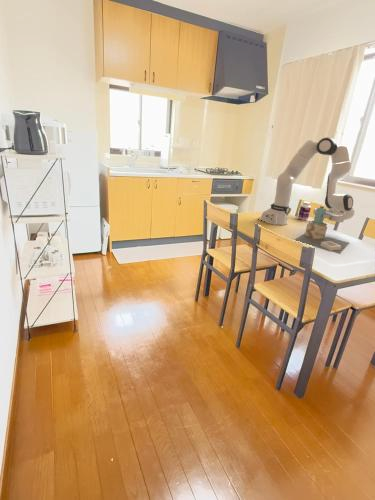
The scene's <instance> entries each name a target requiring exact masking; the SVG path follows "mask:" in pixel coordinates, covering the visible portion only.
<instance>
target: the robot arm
mask: <svg viewBox="0 0 375 500" xmlns="http://www.w3.org/2000/svg"><path fill="white" fill-rule="evenodd" d="M317 154H320V155H323V156H330V158H331V170H330V172H329V173H328V175H327V181H326V184H327V185H326V193H325V198H324V205H325V208H326V212H325V215H322V218H324V219H328V221H332V222H337V223H344V221H347V220H348V221H349V220H350V219H352V218H353V217H354V215H355V209H354V207H353V205H354V198H353V197H352V195H351V194H348V193H342V194H336V189H337V188H336V187H337V183H338V180H339V179H341V178H342V177H345V176H346V175H347V174H348V173H349V172H350V171H351V169H352V162H351V152H350V149H349V146H348V145H344V144H343V145H342V144H340V145H338V144H337V142H336V141H335V139H334V138H332V137H323V138H321V139H319V140H318V141H314V140H311V139H309V140H307V141H305V142H304V143H303V144H302V145H301V147H300V148H299V149H298V151H297V152H296V153H295V155H294V156H293V157H292V159H291V160H290V161H289V163H288V165H287V166H286V168H285V169H284V171H283V172H282V173H280V174H279V175H278V177H277V179H276V180H277V181H276V187H275V197H274V201H273V203H271V204H270V207H269V208H267V210H266V209H265V210H264V211H263V212H262V214H261V216H258V218H257V220H258V219H259V220H258V221H261V220H262V222H264V221H265V222H264V223H268V224H270V225H273V226H274V225H275V226H277V225H278V226H285V225H288V219H287V218H288V217H287V216H288V215H287V213H288V210H289V208H290V203H291V197H292V190H293V189H292V188H293V185H294V184H295V182H296V180H297V179H298V178H299V177H300V175H301V173H303V171H304V169H305V168H307V166H308V164H309V163H310V162H311V160H312V159H313V158H314V157H315V155H317ZM316 210H317V207H316V208H314V209H313V212H312V213H313V214H314V216H315V214H316Z"/></svg>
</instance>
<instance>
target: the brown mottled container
mask: <svg viewBox="0 0 375 500" xmlns="http://www.w3.org/2000/svg"><path fill="white" fill-rule="evenodd" d="M327 230H328V224H327V223H325V222H323V223H322V224H317V223H314V220H309V221H308V223H306V227H305V230H304V233H305V235H307V236H309V237H311V238H313V239H320V238H324V237H325V236H326V234H327V233H326V232H327Z"/></svg>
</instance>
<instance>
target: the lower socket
mask: <svg viewBox="0 0 375 500" xmlns="http://www.w3.org/2000/svg"><path fill="white" fill-rule="evenodd" d="M320 246H322V247H324V248H326V249H328V250H330V251H329V252H331V251H332V250H340V249H341V245H338V244H336V243H334V242H332V241H327V242H321V245H320ZM328 250H327V251H328Z"/></svg>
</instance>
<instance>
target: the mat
mask: <svg viewBox="0 0 375 500" xmlns="http://www.w3.org/2000/svg"><path fill="white" fill-rule="evenodd" d="M294 240H296V241H300V242H302V243H301V244H303V243H306V244H305V245H307V244H309V245H308V246H310V245H312V246H311V247H314V246H315V247H314V248H318V249H322V250H325V251H329V252H333V253H335V254H338V255H340V254H341V253H342V252H343V251H344V250H345V249H346V248H347V247H348V245H349V244H350V242H349V241H344V240H340V239H337V238H333V237H329V236H326V235H325V237H324V238H320V239H313V238H311V237H309V236H307V235H305V232H304V233H303V234H301V235H299V236H298V237H296V238H295V239H294ZM296 241H295V242H296ZM327 241H332V242H334V243H336V244H338V245H341V249H340V250H332V251H330V250H328V249H326V248H324V247H322V246H320V245H321V242H327ZM300 242H299V243H300Z"/></svg>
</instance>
